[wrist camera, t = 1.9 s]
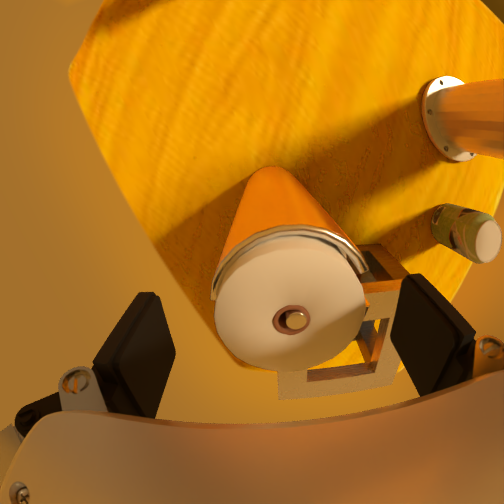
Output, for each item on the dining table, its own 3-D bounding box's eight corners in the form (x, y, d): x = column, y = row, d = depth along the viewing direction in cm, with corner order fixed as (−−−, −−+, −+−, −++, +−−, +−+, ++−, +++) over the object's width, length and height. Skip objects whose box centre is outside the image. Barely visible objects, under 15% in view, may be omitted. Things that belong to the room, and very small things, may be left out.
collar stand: (380, 243, 34) (422, 286, 23) (367, 330, 40) (391, 384, 29) (271, 250, 35) (275, 301, 24) (275, 339, 41) (278, 399, 30)
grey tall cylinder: (288, 224, 34) (333, 389, 11) (238, 209, 33) (190, 359, 10) (306, 176, 31) (412, 267, 8) (254, 158, 31) (232, 205, 8)
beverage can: (440, 248, 34) (486, 285, 23) (416, 217, 33) (467, 250, 22) (462, 218, 32) (513, 247, 21) (441, 185, 31) (496, 207, 20)
